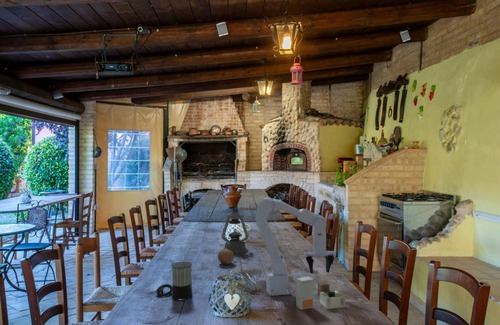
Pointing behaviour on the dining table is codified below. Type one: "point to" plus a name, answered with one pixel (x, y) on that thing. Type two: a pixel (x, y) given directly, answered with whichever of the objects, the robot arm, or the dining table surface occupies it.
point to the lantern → (235, 233)
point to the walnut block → (323, 287)
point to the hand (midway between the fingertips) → (319, 272)
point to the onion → (225, 256)
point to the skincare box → (304, 292)
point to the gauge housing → (332, 300)
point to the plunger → (330, 293)
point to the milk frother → (179, 281)
